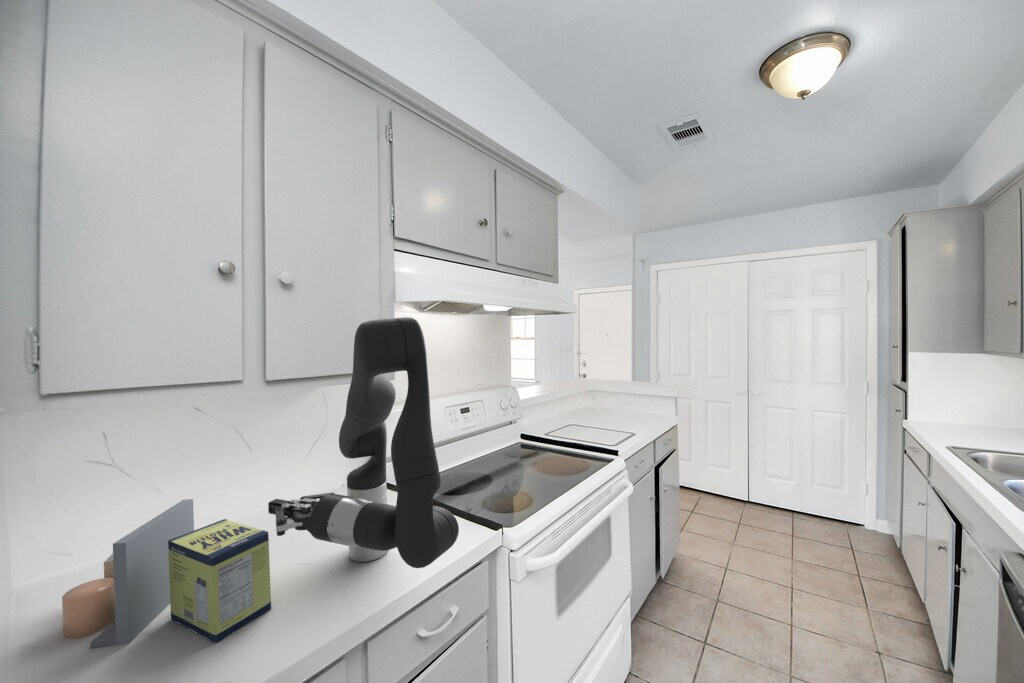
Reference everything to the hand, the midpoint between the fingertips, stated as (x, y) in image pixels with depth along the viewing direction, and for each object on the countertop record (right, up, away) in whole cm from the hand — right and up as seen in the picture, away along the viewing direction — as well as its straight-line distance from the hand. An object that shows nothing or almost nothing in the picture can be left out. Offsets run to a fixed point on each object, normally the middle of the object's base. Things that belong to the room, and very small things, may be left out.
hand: (271, 505), depth 76 cm
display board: (-28, -23, +6) cm, 37 cm away
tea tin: (-37, -23, +10) cm, 45 cm away
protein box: (-12, -23, +4) cm, 26 cm away
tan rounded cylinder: (-35, -23, +1) cm, 42 cm away
